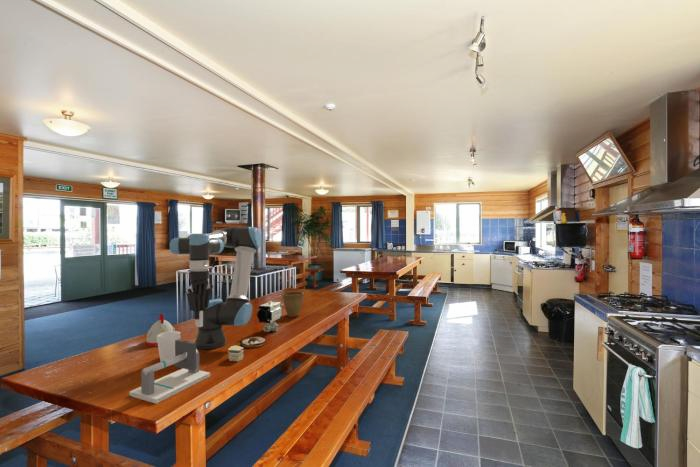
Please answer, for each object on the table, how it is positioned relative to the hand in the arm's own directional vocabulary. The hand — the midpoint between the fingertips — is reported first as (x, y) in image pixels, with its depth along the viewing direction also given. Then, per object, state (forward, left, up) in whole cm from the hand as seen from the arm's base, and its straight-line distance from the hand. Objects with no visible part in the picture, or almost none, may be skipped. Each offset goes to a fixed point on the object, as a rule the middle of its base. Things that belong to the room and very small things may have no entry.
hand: (199, 326), depth 142 cm
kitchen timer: (-51, +21, -20) cm, 59 cm away
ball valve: (-9, +61, -20) cm, 65 cm away
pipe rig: (0, -13, -20) cm, 23 cm away
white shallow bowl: (-3, +38, -20) cm, 43 cm away
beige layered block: (+3, +18, -20) cm, 27 cm away
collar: (0, -7, -15) cm, 16 cm away
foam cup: (-21, +2, -20) cm, 29 cm away
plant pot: (-17, +97, -20) cm, 101 cm away
